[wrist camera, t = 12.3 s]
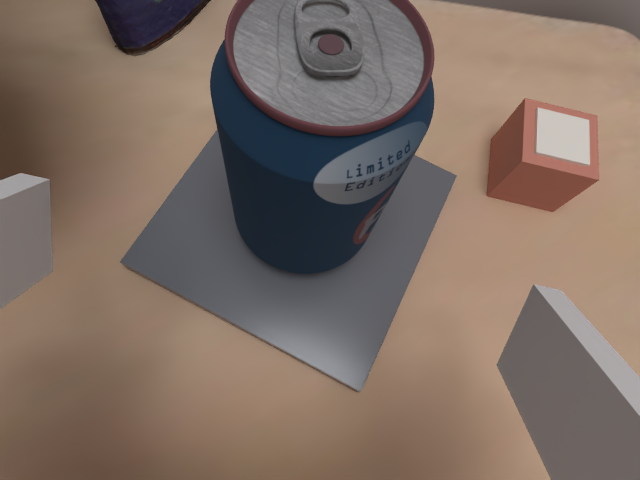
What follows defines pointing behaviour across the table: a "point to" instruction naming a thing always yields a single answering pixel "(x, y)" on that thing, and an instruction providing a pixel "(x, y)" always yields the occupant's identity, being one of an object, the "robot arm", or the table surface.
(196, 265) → the plate
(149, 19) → the flask
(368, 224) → the soda can
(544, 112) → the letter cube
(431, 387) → the table surface
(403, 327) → the table surface
